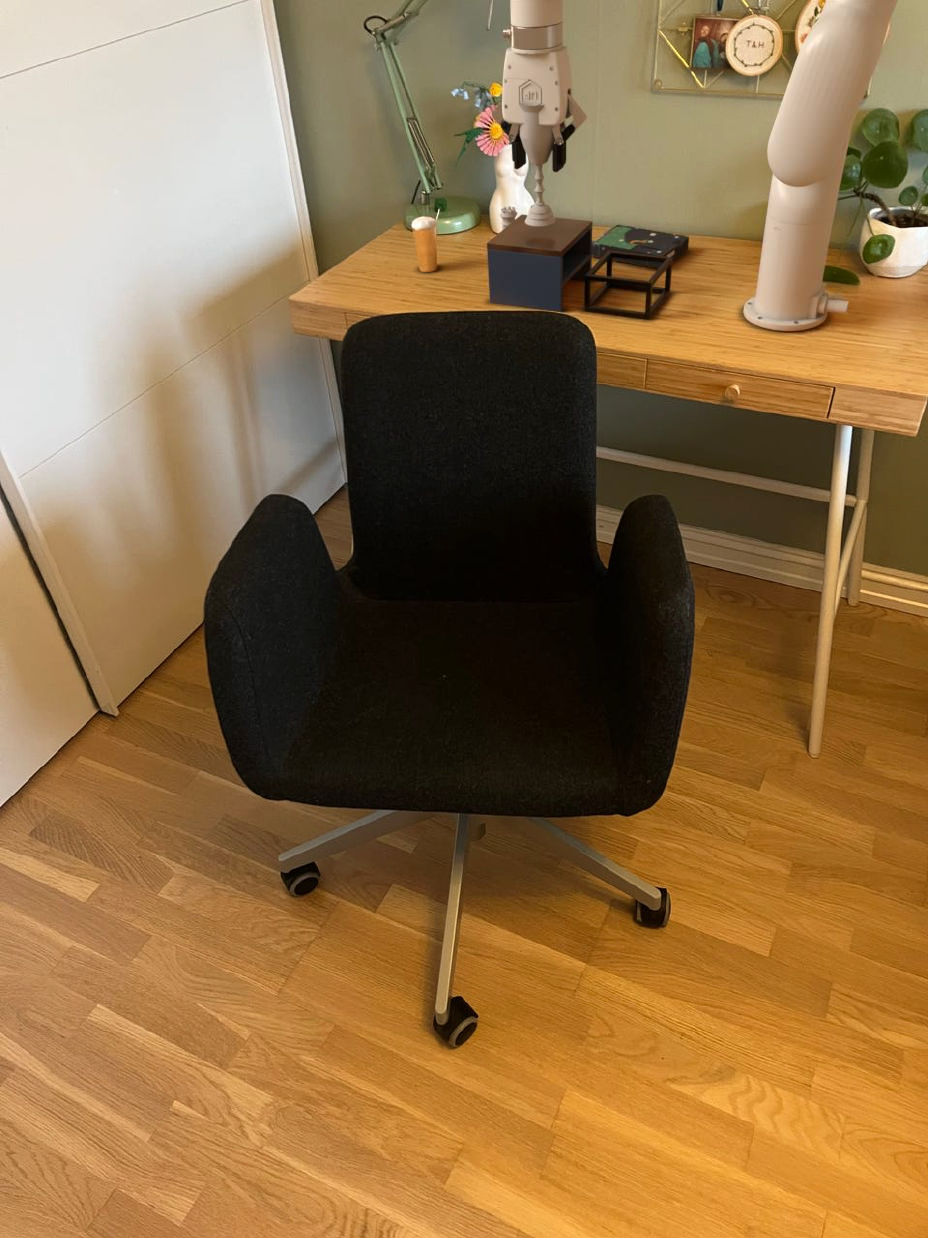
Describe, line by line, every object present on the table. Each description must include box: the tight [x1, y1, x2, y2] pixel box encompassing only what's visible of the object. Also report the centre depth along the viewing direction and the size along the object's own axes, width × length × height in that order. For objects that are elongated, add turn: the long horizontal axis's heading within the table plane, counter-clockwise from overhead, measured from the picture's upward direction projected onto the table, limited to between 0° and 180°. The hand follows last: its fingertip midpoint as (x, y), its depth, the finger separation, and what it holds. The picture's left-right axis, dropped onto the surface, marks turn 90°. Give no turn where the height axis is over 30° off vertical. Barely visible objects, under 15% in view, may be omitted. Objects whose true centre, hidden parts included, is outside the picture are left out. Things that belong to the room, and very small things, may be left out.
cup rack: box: [583, 251, 674, 320], centre depth 157 cm, size 11×11×6 cm
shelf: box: [486, 214, 593, 313], centre depth 162 cm, size 13×14×10 cm
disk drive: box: [592, 224, 690, 269], centre depth 174 cm, size 10×3×15 cm
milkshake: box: [411, 209, 441, 273], centre depth 173 cm, size 4×5×10 cm
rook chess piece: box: [499, 205, 518, 231], centre depth 177 cm, size 4×4×8 cm
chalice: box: [518, 104, 556, 226], centre depth 152 cm, size 7×7×18 cm
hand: (539, 166), depth 152 cm, fingers closed on chalice, 5 cm apart
